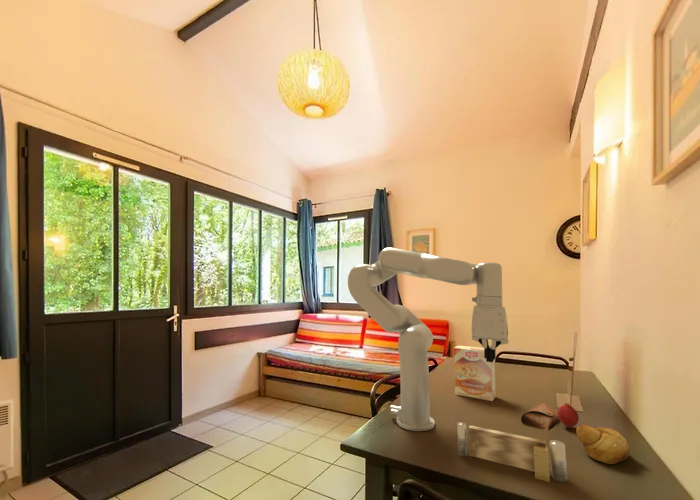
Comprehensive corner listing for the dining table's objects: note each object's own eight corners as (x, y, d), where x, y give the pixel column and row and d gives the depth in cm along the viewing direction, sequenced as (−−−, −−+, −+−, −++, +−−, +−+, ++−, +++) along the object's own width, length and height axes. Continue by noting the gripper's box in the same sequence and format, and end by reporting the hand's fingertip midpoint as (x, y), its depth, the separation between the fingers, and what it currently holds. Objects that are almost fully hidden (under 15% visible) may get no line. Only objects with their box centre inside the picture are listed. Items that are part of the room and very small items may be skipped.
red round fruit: (559, 422, 113) (558, 397, 114) (580, 427, 109) (578, 401, 110) (557, 428, 108) (555, 402, 109) (578, 433, 105) (576, 406, 105)
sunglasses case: (549, 431, 106) (536, 409, 109) (529, 436, 110) (517, 415, 113) (566, 416, 118) (554, 397, 121) (548, 421, 122) (537, 403, 125)
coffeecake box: (454, 394, 141) (453, 347, 143) (459, 390, 147) (458, 344, 149) (492, 401, 133) (490, 351, 135) (496, 396, 139) (494, 348, 141)
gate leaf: (469, 455, 90) (468, 427, 91) (470, 452, 91) (469, 425, 92) (547, 475, 81) (545, 443, 82) (547, 471, 82) (545, 440, 83)
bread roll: (604, 445, 97) (602, 416, 98) (643, 461, 88) (641, 429, 89) (573, 453, 93) (571, 422, 93) (611, 471, 84) (609, 437, 84)
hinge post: (457, 455, 91) (456, 424, 92) (459, 451, 93) (458, 421, 94) (466, 457, 90) (465, 426, 91) (468, 453, 92) (467, 423, 93)
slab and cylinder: (535, 478, 80) (533, 443, 81) (535, 469, 84) (533, 435, 85) (567, 486, 77) (565, 449, 78) (566, 476, 81) (564, 442, 82)
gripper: (462, 301, 107) (462, 359, 105) (513, 303, 99) (514, 367, 97) (468, 300, 113) (468, 355, 111) (517, 302, 105) (518, 363, 103)
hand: (490, 361), depth 104 cm, fingers closed
